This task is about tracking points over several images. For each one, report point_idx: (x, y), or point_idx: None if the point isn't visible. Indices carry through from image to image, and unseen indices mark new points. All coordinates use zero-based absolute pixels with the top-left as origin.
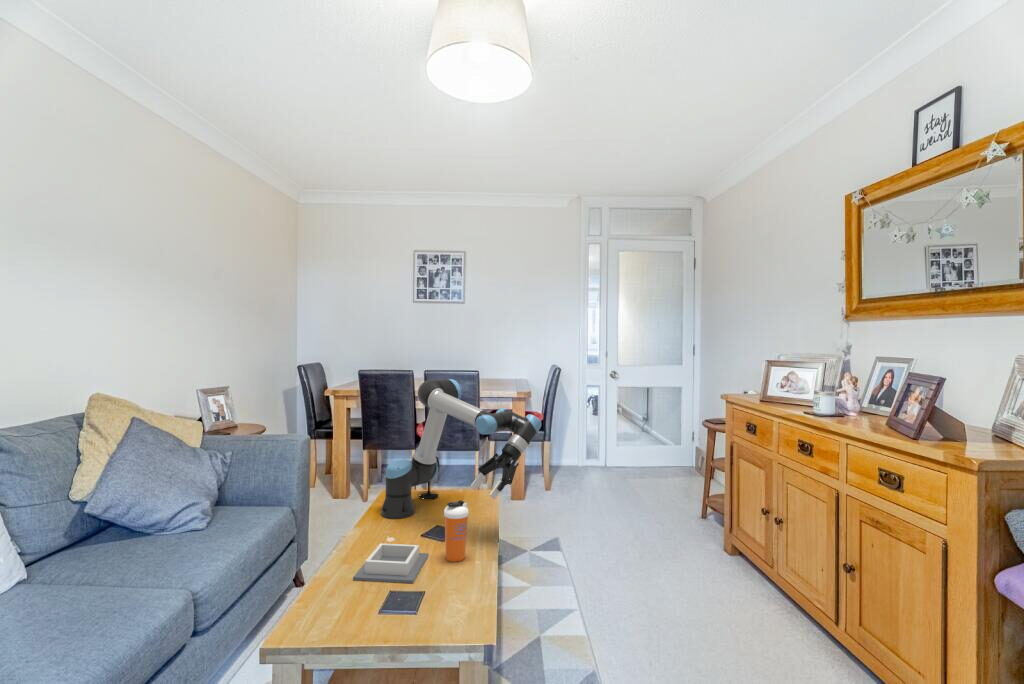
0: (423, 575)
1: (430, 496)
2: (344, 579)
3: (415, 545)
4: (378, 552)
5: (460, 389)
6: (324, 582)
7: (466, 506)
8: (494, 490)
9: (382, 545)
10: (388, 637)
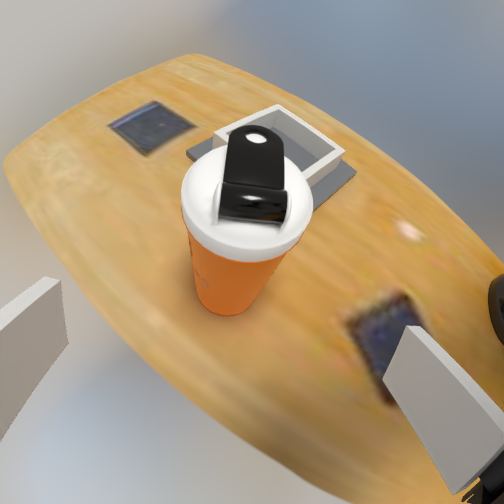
0: None
1: None
2: None
3: None
4: (314, 139)
5: None
6: (288, 98)
7: (212, 211)
8: (10, 310)
9: (335, 149)
10: (104, 95)
